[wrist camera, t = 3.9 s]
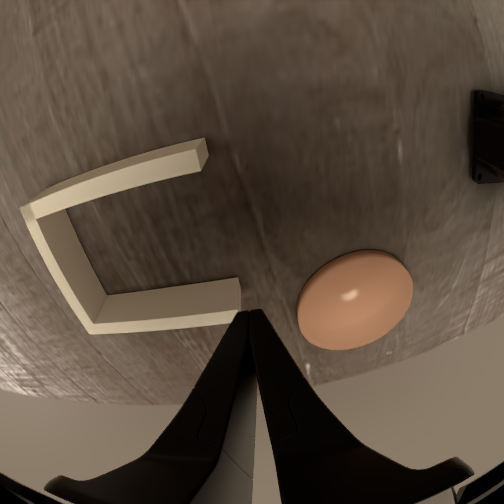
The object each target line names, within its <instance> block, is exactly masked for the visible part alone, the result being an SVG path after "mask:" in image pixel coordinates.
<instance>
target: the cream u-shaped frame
mask: <svg viewBox="0 0 504 504" xmlns="http://www.w3.org/2000/svg"><path fill="white" fill-rule="evenodd" d="M208 156H209V154H208V150H207V146H206V141H205V138H200V139H196V140H192V141H187V142H183V143H179V144H175V145H171V146H167V147H164V148H160V149H156V150H153V151H149V152H146V153H142V154H139V155H136V156H132V157H129V158H126V159H123V160H120V161H117V162H114V163H111V164H108V165H105V166H102V167H99V168H96V169H94V170H91V171H88V172H85V173H83V174H80V175H78V176H75V177H72V178H70V179H67V180H65V181H62V182H60V183H58V184H55V185H53V186H50V187H48V188H46V189H45V190H43V191H42V192H40V193H39V194H38V195H36V196H35V197H33V198H32V199H31V200H29V201H28V202H27V203H25V204H24V205H23V206H21V207H20V210H21V213H22V215H23V217H24V220H25V222H26V224H27V227H28V229H29V231H30V233H31V235H32V237H33V240H34V242H35V244H36V246H37V248H38V250H39V252H40V254H41V256H42V258H43V260H44V261H45V263H46V265H47V267H48V269H49V271H50V273H51V274H52V276H53V278H54V280H55V281H56V283H57V285H58V286H59V288H60V290H61V292H62V293H63V295H64V296H65V298H66V300H67V301H68V303H69V304H70V306H71V308H72V309H73V311H74V312H75V314H76V315H77V317H78V318H79V320H80V321H81V323H82V324H83V326H84V327H85V328H86V330H87V331H88V333H89V334H110V333H129V332H144V331H157V330H169V329H180V328H190V327H200V326H209V325H217V324H226V323H231V322H232V320H233V318H234V316H235V315H236V313H237V312H240V311H241V287H240V283H239V279H238V277H237V278H230V279H224V280H217V281H210V282H203V283H196V284H189V285H182V286H175V287H168V288H161V289H153V290H146V291H138V292H131V293H123V294H115V295H107V294H106V292H105V291H104V289H103V287H102V285H101V283H100V281H99V280H98V278H97V276H96V274H95V272H94V270H93V268H92V266H91V264H90V262H89V260H88V258H87V256H86V254H85V252H84V250H83V248H82V246H81V243H80V241H79V239H78V237H77V235H76V232H75V230H74V228H73V226H72V223H71V221H70V219H69V216H68V214H67V211H66V209H65V208H68V207H71V206H74V205H77V204H80V203H83V202H86V201H90V200H93V199H96V198H99V197H102V196H106V195H109V194H112V193H116V192H119V191H123V190H126V189H130V188H133V187H137V186H141V185H145V184H148V183H152V182H156V181H160V180H164V179H168V178H173V177H177V176H181V175H186V174H190V173H195V172H199V171H201V170H202V168H203V166H204V164H205V162H206V160H207V158H208Z"/></svg>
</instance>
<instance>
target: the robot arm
mask: <svg viewBox="0 0 504 504" xmlns="http://www.w3.org/2000/svg"><path fill="white" fill-rule="evenodd" d="M480 95H481V99H480ZM472 180H473V181H474V182H476V183H478V184H484V183H499V182H504V96H503V95H500V94H496V93H492V92H488V91H483V90H475V92H474V153H473V167H472ZM257 382H258V385H259V390H260V395H261V400H262V404H263V409H264V414H265V418H266V423H267V428H268V432H269V437H270V441H271V445H272V450H273V455H274V460H275V466H276V472H277V478H278V484H279V490H280V497H281V502H282V504H504V461H503V462H501V463H500V464H498V465H497V466H495V467H494V468H492V469H491V470H489V471H488V472H486V473H485V474H483V475H482V476H480V477H478V478H477V479H475V480H473V481H471V482H470V483H468V484H466V485H464V486H463V487H461V488H460V489H459V490H458V492H457V494H456V493H455V489H454V486H455V485H457V484H459V483H461V482H463V481H464V480H466V479H468V478H469V477H471V476H473V475H474V471H473V470H472V468H471V467H470V466H469V465H467V464H466V463H465V462H463V461H462V460H461V459H459V458H458V457H453V458H450V459H448V460H446V461H444V462H441V463H439V464H437V465H435V466H432V467H430V468H427V469H421V470H416V469H410V468H408V467H405V466H403V465H401V464H399V463H397V462H395V461H393V460H391V459H389V458H388V457H386V456H384V455H382V454H380V453H378V452H376V451H375V450H373V449H371V448H369V447H367V446H366V445H364V444H363V443H362V442H360V441H359V440H358V439H357V438H356V437H355V436H354V435H353V434H352V433H351V432H350V431H349V430H348V429H347V428H346V427H345V426H344V425H343V424H342V423H341V422H340V421H339V420H338V418H337V417H336V416H335V415H334V414H333V413H332V412H331V411H330V410H329V409H328V408H327V406H326V405H325V404H324V403H323V402H322V401H321V399H320V398H319V397H318V395H317V394H316V393H315V391H314V390H313V388H312V387H311V386H310V384H309V382H308V381H307V379H306V378H305V377H304V375H303V373H302V372H301V370H300V369H299V367H298V366H297V364H296V362H295V361H294V359H293V358H292V356H291V355H290V353H289V351H288V350H287V348H286V347H285V345H284V344H283V342H282V340H281V339H280V337H279V336H278V334H277V332H276V331H275V329H274V328H273V326H272V324H271V323H270V321H269V320H268V318H267V316H266V315H265V313H264V312H263V310H262V309H254V310H250V312H249V311H240V312H237V313H236V315H235V316H234V318H233V320H232V322H231V324H230V325H229V327H228V329H227V331H226V332H225V334H224V336H223V338H222V339H221V341H220V343H219V345H218V346H217V348H216V350H215V352H214V353H213V355H212V357H211V359H210V360H209V362H208V364H207V365H206V367H205V369H204V371H203V372H202V374H201V376H200V378H199V379H198V381H197V383H196V384H195V386H194V387H195V388H193V389H192V391H191V393H190V395H189V396H188V398H187V399H186V401H185V403H184V404H183V406H182V407H181V409H180V410H179V412H178V413H177V415H176V416H175V417H174V418H173V420H172V421H171V422H170V424H169V425H168V426H167V427H166V429H165V430H164V431H163V433H162V434H161V435H160V436H159V438H158V439H157V440H156V441H155V443H154V444H153V445H152V446H151V447H150V449H149V450H148V451H147V452H146V453H144V454H143V455H142V456H141V457H139V458H138V459H136V460H134V461H132V462H130V463H128V464H126V465H123V466H121V467H119V468H117V469H115V470H112V471H110V472H108V473H106V474H103V475H101V476H98V477H96V478H93V479H90V480H86V481H77V480H73V479H70V478H68V477H65V476H62V475H59V476H57V477H55V478H54V479H52V480H50V481H49V482H48V483H47V484H46V485H45V487H44V490H45V491H47V492H49V493H51V494H53V495H55V496H57V497H59V498H62V499H64V500H66V501H69V502H71V503H74V504H252V488H253V480H252V479H253V469H254V468H253V467H254V448H255V427H256V405H257ZM0 504H64V503H62V502H60V501H57V500H55V499H53V498H51V497H49V496H46V495H44V494H42V493H40V492H38V491H36V490H33V489H31V488H29V487H27V486H25V485H23V484H21V483H19V482H18V481H15V480H14V479H12V478H10V477H8V476H7V475H5V474H3V473H1V472H0Z"/></svg>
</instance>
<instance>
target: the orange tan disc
mask: <svg viewBox="0 0 504 504" xmlns="http://www.w3.org/2000/svg"><path fill="white" fill-rule="evenodd" d="M412 296H413V282H412V279H411V276H410V274H409V273H408V271H407V270H406V268H405V267H404V266H403V264H402V263H401V262H400V261H399V260H398V259H397V258H396V257H394V256H393V255H391V254H389V253H386V252H383V251H377V250H363V251H356V252H352V253H349V254H346V255H343V256H340V257H338V258H336V259H334V260H332V261H331V262H329V263H327V264H326V265H324V266H323V267H322V268H320V269H319V270H318V271H317V272H316V273H315V274H314V275H312V277H311V278H310V279H309V280H308V281H307V283H306V284H305V286H304V287H303V289H302V291H301V293H300V295H299V298H298V301H297V306H296V313H297V318H298V323H299V328H300V330H301V333H302V334H303V336H304V337H305V338H306V339H307V340H308V341H309V342H311V343H312V344H314V345H316V346H318V347H321V348H325V349H330V350H346V349H352V348H356V347H360V346H363V345H366V344H368V343H371V342H373V341H375V340H377V339H378V338H380V337H382V336H383V335H385V334H386V333H387V332H389V331H390V330H391V329H392V328H393V327H395V326H396V325H397V323H398V322H399V321H400V320H401V319H402V318H403V316H404V315H405V313H406V312H407V310H408V308H409V306H410V303H411V300H412Z"/></svg>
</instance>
